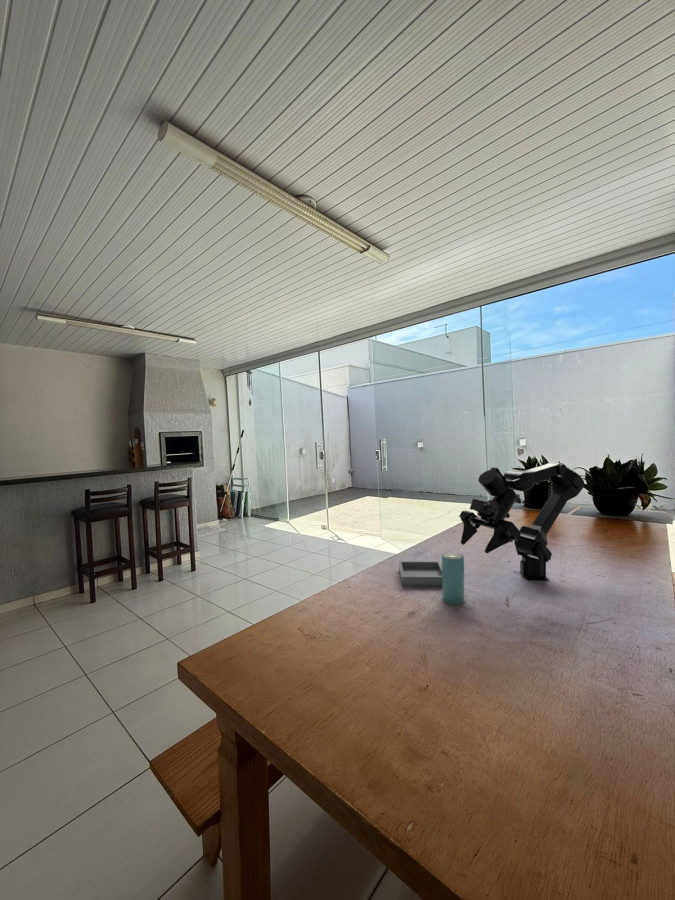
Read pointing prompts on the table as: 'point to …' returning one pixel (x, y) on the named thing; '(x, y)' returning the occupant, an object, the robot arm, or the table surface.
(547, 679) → the table surface
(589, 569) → the table surface
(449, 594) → the teal cylinder
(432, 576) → the tray
